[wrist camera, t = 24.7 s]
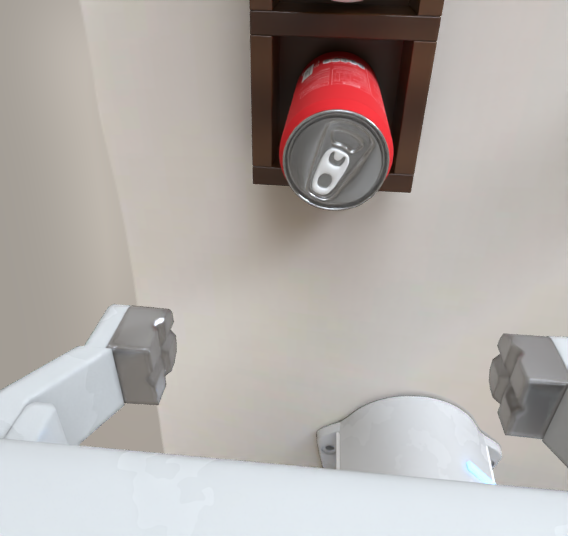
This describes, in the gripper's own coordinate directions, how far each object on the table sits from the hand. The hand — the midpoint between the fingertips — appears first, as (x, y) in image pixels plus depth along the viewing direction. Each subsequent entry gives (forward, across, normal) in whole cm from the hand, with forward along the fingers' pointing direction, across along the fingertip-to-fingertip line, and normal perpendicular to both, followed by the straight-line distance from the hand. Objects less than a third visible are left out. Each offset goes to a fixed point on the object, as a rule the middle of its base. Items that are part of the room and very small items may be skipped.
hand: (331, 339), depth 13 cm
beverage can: (+24, 0, 0) cm, 24 cm away
